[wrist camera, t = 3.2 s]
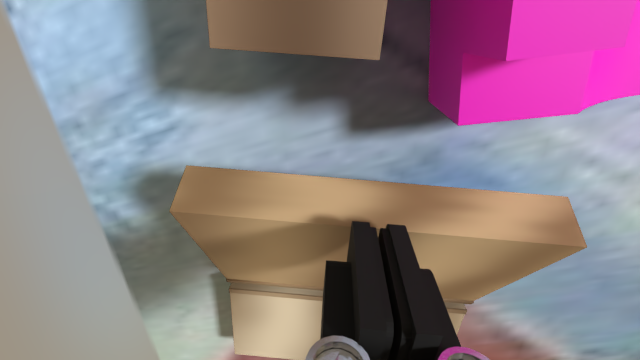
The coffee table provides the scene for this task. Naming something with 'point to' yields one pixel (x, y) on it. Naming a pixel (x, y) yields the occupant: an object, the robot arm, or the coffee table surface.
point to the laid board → (286, 320)
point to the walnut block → (299, 26)
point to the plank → (379, 210)
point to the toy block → (531, 57)
